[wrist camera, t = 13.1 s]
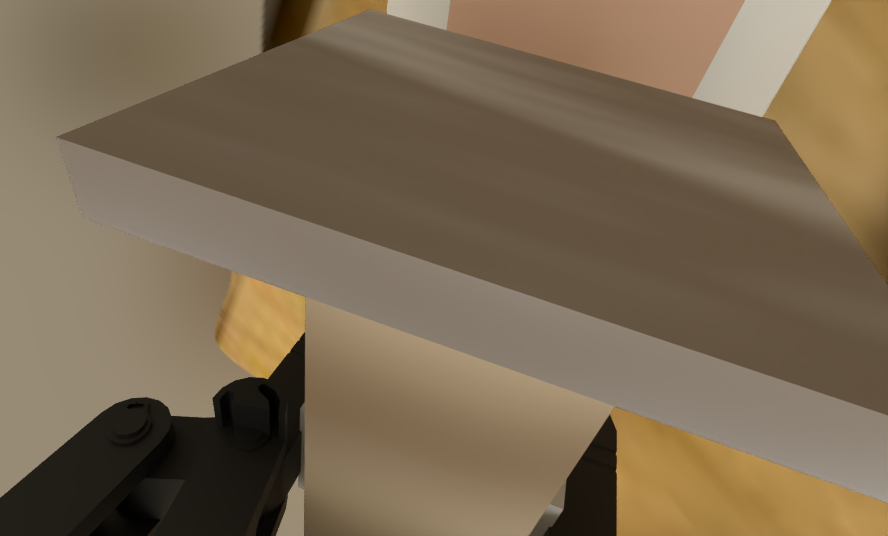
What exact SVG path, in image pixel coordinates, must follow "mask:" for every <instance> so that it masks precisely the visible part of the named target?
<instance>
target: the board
mask: <svg viewBox="0 0 888 536" xmlns="http://www.w3.org/2000/svg"><path fill="white" fill-rule="evenodd" d="M831 1H832V0H745V2H744V4H743V5H742V7H741V9H740V11H739V13H738V15H737V16H736V18H735V20H734V22H733V24H732V25H731V27H730V29H729V31H728V33H727V35H726V36H725V38H724V40H723V42H722V44H721V46H720V47H719V49H718V51H717V53H716V55H715V57H714V58H713V60H712V62H711V64H710V66H709V68H708V69H707V71H706V73H705V75H704V77H703V79H702V80H701V82H700V84H699V86H698V88H697V90H696V91H695V93H694V95H693V97H692V98H694V99H698V100H702V101H705V102H709V103H712V104H716V105H720V106H723V107H727V108H731V109H734V110H738V111H742V112H745V113H749V114H752V115H756V116H760V117H763V115H764V114H765V112H766V110H767V109H768V107H769V105H770V103H771V102H772V100H773V98H774V97H775V95H776V93H777V92H778V90H779V88H780V87H781V85H782V83H783V82H784V80H785V78H786V77H787V75H788V73H789V71H790V70H791V68H792V66H793V65H794V63H795V61H796V60H797V58H798V56H799V55H800V53H801V51H802V50H803V48H804V46H805V44H806V43H807V41H808V39H809V38H810V36H811V34H812V33H813V31H814V29H815V28H816V26H817V24H818V23H819V21H820V19H821V17H822V16H823V14H824V12H825V11H826V9H827V7H828V6H829V4H830V2H831ZM449 6H450V0H388V4H387V14H389V15H393V16H396V17H400V18H404V19H407V20H411V21H415V22H418V23H422V24H425V25H429V26H433V27H436V28H440V29H444V30H446V29H447V22H448V14H449Z"/></svg>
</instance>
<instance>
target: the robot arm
mask: <svg viewBox="0 0 888 536" xmlns="http://www.w3.org/2000/svg"><path fill="white" fill-rule="evenodd" d="M213 405H214V411H215V417H212V418H198V417H182V416H171V414H170V412H169V409H168V407H167V406H165V405H164V404H163V403H162V402H160V401H159V400H155V399H151V398H147V397H145V398H131V399H128V400H125V401H122V402H119V403H116V404H114V405H113V406H111V407H109V408H108V409H106V410H105V411H103V412H102V413H101V414H99V415H98V416H97V417H96V418H94V419H93V420H92V421H91V422H90V423H89V424H87V425H86V426H85V427H84V428H83V429H81V430H80V431H79V432H78V433H77V434H75V435H74V436H73V437H72V438H71V439H70V440H68V441H67V442H66V443H65V444H64V445H62V446H61V447H60V448H59V449H58V450H57V451H55V452H54V453H53V454H52V455H51V456H49V457H48V458H47V459H46V460H45V461H43V462H42V463H41V464H40V465H39V466H38V467H36V468H35V469H34V470H33V471H32V472H31V473H29V474H28V475H27V476H26V477H25V478H23V479H22V480H21V481H20V482H19V483H17V484H16V485H15V486H14V487H13V488H11V489H10V490H9V491H8V492H7V493H6V494H4V495H3V496H2V497H1V498H0V536H276V533H277V531H278V528H279V525H280V522H281V520H282V518H283V515H284V512H285V509H286V503H287V498H288V492H289V491H290V489H291V487H292V485H293V484H294V482H295V480H296V478H297V477H298V475H299V479H298V487H300V488H302V489H304V482H305V332H304V334H303V335H302V336H301V338H300V340H299V341H297V343H296V344H295V345H294V346H293V348H292V349H291V351H290V353H288V354H287V355H286V357H285V358H284V359H283V361H282V362H281V363H280V364H279V366H278V367H277V368H276V369H275V371H274V372H273V373H272V375H271V376H270V377H269V378H268V380H267V379H265V378H254V377H248V378H244V379H240V380H236V381H233V382H232V383H230V384H228V385H227V386H225V387H223V388H222V389H221V390H220V391H219V392H218V393H217V394H216V395H215V396H214V397H213ZM616 452H617V431H616V428H615V426H614V423H613V421H612V419H611V416H610V415H609V416H608V418H607V419H606V421H605V422H604V424H603V425H602V427H601V428H600V430H599V431H598V433H597V434H596V436H595V437H594V439H593V440H592V442H591V443H590V445H589V446H588V448H587V449H586V451H585V452H584V454H583V455H582V457H581V458H580V460H579V461H578V463H577V464H576V466H575V467H574V469H573V470H572V471H571V473H570V474H569V476H568V477H567V479H566V480H565V482H564V483H563V485H562V486H561V488H560V489H559V491H558V492H557V494H556V495H555V497H554V498H553V500H552V501H551V503H550V504H549V506H548V507H547V509H546V510H545V512H544V513H543V515H542V516H541V518H540V519H539V521H538V522H537V524H536V525H535V527H534V528H533V530H532V531H531V533H530V534H529V536H617V535H616V520H617V473H616V468H617V455H616Z"/></svg>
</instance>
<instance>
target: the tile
mask: <svg viewBox="0 0 888 536" xmlns="http://www.w3.org/2000/svg"><path fill="white" fill-rule="evenodd" d="M744 2H745V0H450V6H449V14H448V22H447V29H446V30H447V31H451V32H454V33H458V34H462V35H465V36H469V37H473V38H476V39H480V40H484V41H487V42H491V43H494V44H498V45H502V46H505V47H509V48H513V49H516V50H520V51H524V52H527V53H531V54H534V55H538V56H542V57H545V58H549V59H553V60H556V61H560V62H563V63H567V64H571V65H574V66H578V67H582V68H585V69H589V70H593V71H596V72H600V73H603V74H607V75H611V76H614V77H618V78H622V79H625V80H629V81H633V82H636V83H640V84H643V85H647V86H651V87H654V88H658V89H662V90H665V91H669V92H672V93H676V94H680V95H683V96H687V97H691V98H692V97H693V95H694V93H695V91H696V90H697V88H698V86H699V84H700V82H701V80H702V79H703V77H704V75H705V73H706V71H707V69H708V68H709V66H710V64H711V62H712V60H713V58H714V57H715V55H716V53H717V51H718V49H719V47H720V46H721V44H722V42H723V40H724V38H725V36H726V35H727V33H728V31H729V29H730V27H731V25H732V24H733V22H734V20H735V18H736V16H737V15H738V13H739V11H740V9H741V7H742V5H743V4H744Z"/></svg>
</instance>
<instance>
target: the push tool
mask: <svg viewBox="0 0 888 536" xmlns="http://www.w3.org/2000/svg"><path fill="white" fill-rule="evenodd" d="M56 139H57V142H58V145H59V148H60V151H61V154H62V156H63V160H64V163H65V166H66V169H67V172H68V175H69V178H70V181H71V184H72V187H73V190H74V193H75V196H76V199H77V202H78V205H79V208H80V211H81V214H82V217H83V218H84V219H87V220H90V221H93V222H95V223H98V224H101V225H104V226H107V227H110V228H113V229H115V230H118V231H121V232H124V233H127V234H129V235H132V236H135V237H138V238H141V239H143V240H146V241H149V242H152V243H155V244H157V245H160V246H163V247H166V248H169V249H172V250H174V251H177V252H180V253H183V254H186V255H189V256H191V257H194V258H197V259H200V260H203V261H205V262H208V263H211V264H214V265H217V266H220V267H223V268H225V269H228V270H231V271H234V272H237V273H239V274H242V275H245V276H248V277H251V278H253V279H256V280H259V281H262V282H265V283H268V284H270V285H273V286H276V287H279V288H282V289H285V290H287V291H290V292H293V293H296V294H299V295H301V296H304V297H305V482H304V493H305V495H304V497H305V498H304V536H529V534H530V533H531V531H532V530H533V528H534V527H535V525H536V524H537V522H538V521H539V519H540V518H541V516H542V515H543V513H544V512H545V510H546V509H547V507H548V506H549V504H550V503H551V501H552V500H553V498H554V497H555V495H556V494H557V492H558V491H559V489H560V488H561V486H562V485H563V483H564V482H565V480H566V479H567V477H568V476H569V474H570V473H571V471H572V470H573V469H574V467H575V466H576V464H577V463H578V461H579V460H580V458H581V457H582V455H583V454H584V452H585V451H586V449H587V448H588V446H589V445H590V443H591V442H592V440H593V439H594V437H595V436H596V434H597V433H598V431H599V430H600V428H601V427H602V425H603V424H604V422H605V421H606V419H607V418H608V416H609V415H610V413H611V412H612V410H613V409H614V407H618V408H621V409H623V410H626V411H629V412H632V413H635V414H637V415H640V416H643V417H646V418H649V419H652V420H654V421H657V422H660V423H663V424H666V425H669V426H671V427H674V428H677V429H680V430H683V431H685V432H688V433H691V434H694V435H697V436H700V437H702V438H705V439H708V440H711V441H714V442H717V443H719V444H722V445H725V446H728V447H731V448H733V449H736V450H739V451H742V452H745V453H748V454H750V455H753V456H756V457H759V458H762V459H765V460H767V461H770V462H773V463H776V464H779V465H781V466H784V467H787V468H790V469H793V470H796V471H798V472H801V473H804V474H807V475H810V476H813V477H815V478H818V479H821V480H824V481H827V482H829V483H832V484H835V485H838V486H841V487H844V488H846V489H849V490H852V491H855V492H858V493H861V494H863V495H866V496H869V497H872V498H875V499H877V500H880V501H883V502H886V503H888V284H887V283H886V282H885V280H884V279H883V277H882V276H881V274H880V273H879V271H878V270H877V268H876V267H875V265H874V264H873V263H872V261H871V260H870V258H869V257H868V255H867V254H866V252H865V251H864V249H863V248H862V247H861V245H860V244H859V242H858V241H857V239H856V238H855V236H854V235H853V233H852V232H851V231H850V229H849V228H848V226H847V225H846V223H845V222H844V220H843V219H842V217H841V216H840V215H839V213H838V212H837V210H836V209H835V207H834V206H833V204H832V203H831V201H830V200H829V199H828V197H827V196H826V194H825V193H824V191H823V190H822V188H821V187H820V185H819V184H818V183H817V181H816V180H815V178H814V177H813V175H812V174H811V172H810V171H809V169H808V168H807V166H806V165H805V164H804V162H803V161H802V159H801V158H800V156H799V155H798V153H797V152H796V150H795V149H794V148H793V146H792V145H791V143H790V142H789V140H788V139H787V137H786V136H785V134H784V133H783V132H782V130H781V129H780V127H779V126H778V124H777V123H776V121H774V120H771V119H767V118H763V117H760V116H756V115H752V114H749V113H745V112H742V111H738V110H734V109H731V108H727V107H723V106H720V105H716V104H712V103H709V102H705V101H702V100H698V99H694V98H691V97H687V96H683V95H680V94H676V93H672V92H669V91H665V90H662V89H658V88H654V87H651V86H647V85H643V84H640V83H636V82H633V81H629V80H625V79H622V78H618V77H614V76H611V75H607V74H603V73H600V72H596V71H593V70H589V69H585V68H582V67H578V66H574V65H571V64H567V63H563V62H560V61H556V60H553V59H549V58H545V57H542V56H538V55H534V54H531V53H527V52H524V51H520V50H516V49H513V48H509V47H505V46H502V45H498V44H494V43H491V42H487V41H484V40H480V39H476V38H473V37H469V36H465V35H462V34H458V33H454V32H451V31H447V30H444V29H440V28H436V27H433V26H429V25H425V24H422V23H418V22H415V21H411V20H407V19H404V18H400V17H396V16H393V15H389V14H385V13H382V12H378V11H375V10H371V9H370V10H367V11H365V12H362V13H360V14H357V15H355V16H352V17H350V18H348V19H345V20H343V21H340V22H338V23H335V24H333V25H330V26H328V27H325V28H323V29H321V30H318V31H316V32H313V33H311V34H308V35H306V36H303V37H301V38H298V39H296V40H293V41H291V42H289V43H286V44H284V45H281V46H279V47H276V48H274V49H271V50H269V51H266V52H264V53H262V54H259V55H257V56H254V57H252V58H249V59H247V60H244V61H242V62H239V63H237V64H235V65H232V66H230V67H227V68H225V69H223V70H220V71H217V72H215V73H212V74H210V75H207V76H205V77H203V78H200V79H198V80H195V81H193V82H190V83H188V84H185V85H183V86H180V87H178V88H176V89H173V90H171V91H168V92H166V93H163V94H161V95H158V96H156V97H154V98H151V99H148V100H146V101H144V102H141V103H139V104H136V105H134V106H131V107H129V108H126V109H124V110H122V111H119V112H117V113H114V114H112V115H109V116H107V117H104V118H102V119H99V120H97V121H94V122H92V123H89V124H87V125H85V126H82V127H80V128H77V129H75V130H72V131H70V132H67V133H65V134H62V135H60V136H57V137H56Z"/></svg>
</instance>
